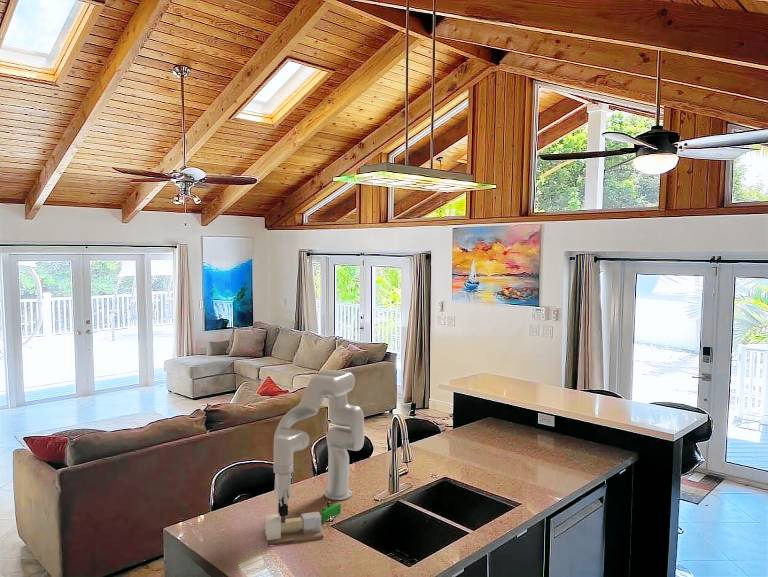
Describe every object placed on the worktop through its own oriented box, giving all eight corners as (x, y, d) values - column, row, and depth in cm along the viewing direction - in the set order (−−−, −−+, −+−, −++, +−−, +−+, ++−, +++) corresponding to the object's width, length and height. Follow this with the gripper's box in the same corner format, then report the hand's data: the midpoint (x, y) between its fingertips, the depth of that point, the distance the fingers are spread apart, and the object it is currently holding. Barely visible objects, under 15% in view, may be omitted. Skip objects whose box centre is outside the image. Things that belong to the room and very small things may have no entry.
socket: (265, 531, 225) (265, 515, 225) (277, 530, 227) (278, 514, 227) (267, 540, 219) (267, 523, 218) (280, 538, 220) (280, 521, 220)
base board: (264, 532, 228) (264, 529, 228) (316, 525, 234) (316, 522, 234) (268, 546, 216) (268, 543, 216) (323, 538, 223) (323, 535, 223)
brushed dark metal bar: (271, 528, 224) (272, 500, 224) (305, 524, 228) (305, 496, 228) (273, 532, 221) (273, 503, 221) (306, 527, 225) (306, 499, 225)
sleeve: (301, 528, 229) (301, 513, 228) (318, 526, 231) (318, 511, 231) (303, 533, 224) (303, 519, 224) (321, 531, 226) (321, 516, 226)
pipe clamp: (333, 511, 248) (334, 501, 248) (340, 514, 246) (340, 503, 246) (316, 521, 239) (316, 510, 238) (323, 523, 236) (323, 512, 236)
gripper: (270, 461, 229) (270, 506, 230) (276, 475, 214) (276, 524, 215) (289, 459, 231) (289, 504, 232) (296, 473, 216) (296, 521, 217)
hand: (283, 513), depth 224 cm, fingers closed on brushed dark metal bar, 2 cm apart
